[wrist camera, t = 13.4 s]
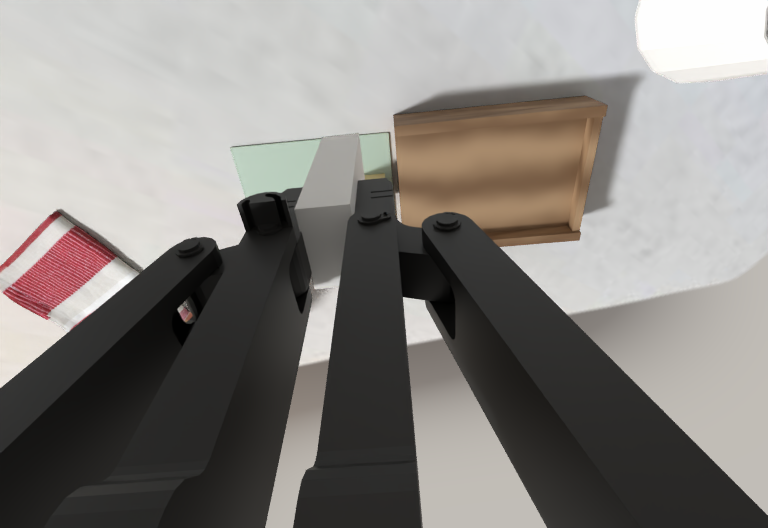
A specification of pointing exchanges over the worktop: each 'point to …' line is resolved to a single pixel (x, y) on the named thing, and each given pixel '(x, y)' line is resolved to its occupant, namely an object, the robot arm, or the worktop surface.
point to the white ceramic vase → (703, 38)
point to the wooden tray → (501, 166)
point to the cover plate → (301, 163)
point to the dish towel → (64, 273)
